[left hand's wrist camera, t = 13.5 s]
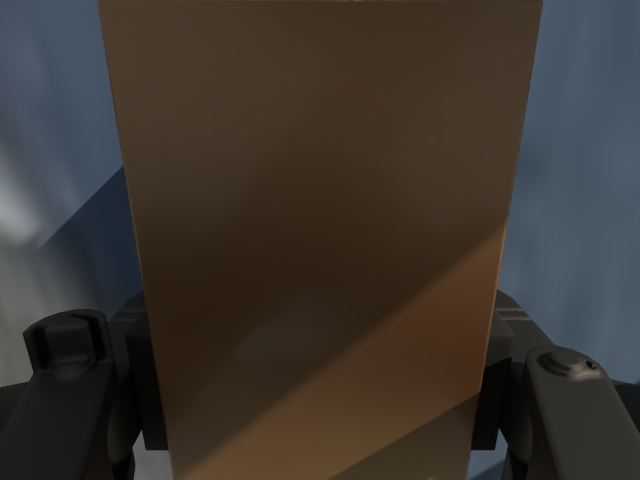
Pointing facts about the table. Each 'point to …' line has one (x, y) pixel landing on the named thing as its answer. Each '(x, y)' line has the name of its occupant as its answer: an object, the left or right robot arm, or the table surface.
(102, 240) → the table surface
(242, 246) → the post
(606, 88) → the table surface
